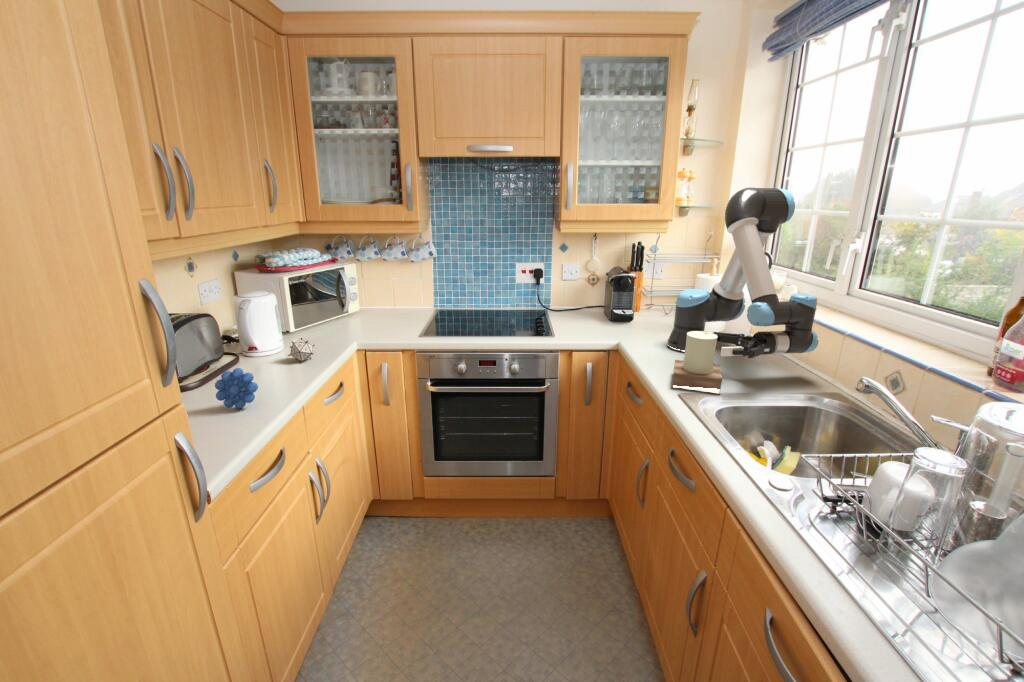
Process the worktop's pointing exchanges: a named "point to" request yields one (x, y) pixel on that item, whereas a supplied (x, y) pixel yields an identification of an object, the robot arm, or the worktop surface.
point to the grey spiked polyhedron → (301, 350)
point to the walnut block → (696, 377)
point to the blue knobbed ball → (236, 388)
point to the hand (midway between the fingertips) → (709, 345)
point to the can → (700, 352)
